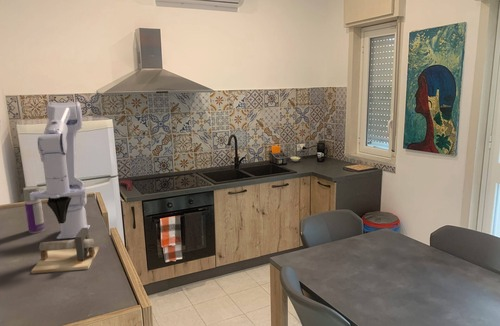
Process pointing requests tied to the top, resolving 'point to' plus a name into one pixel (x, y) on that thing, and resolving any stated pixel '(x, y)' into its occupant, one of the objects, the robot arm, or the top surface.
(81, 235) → the collar
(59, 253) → the pipe stand
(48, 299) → the top surface
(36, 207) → the container
